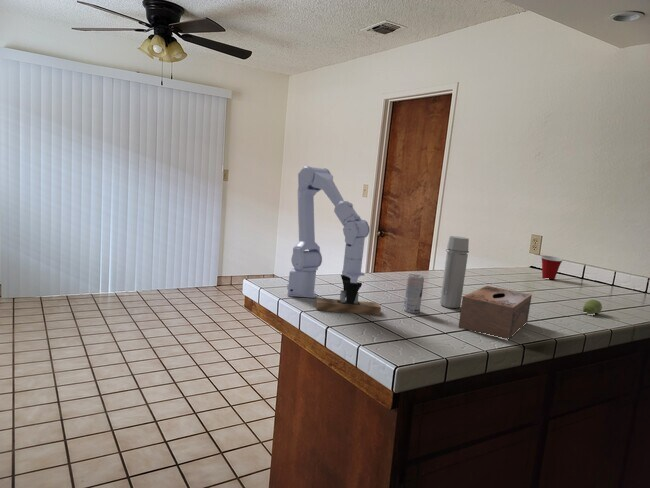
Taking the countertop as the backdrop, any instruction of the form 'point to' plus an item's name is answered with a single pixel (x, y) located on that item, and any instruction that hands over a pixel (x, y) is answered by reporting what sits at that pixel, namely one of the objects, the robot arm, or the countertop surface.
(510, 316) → the tissue box cover
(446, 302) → the water bottle
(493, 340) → the countertop surface
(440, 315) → the countertop surface
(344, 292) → the brushed metal block
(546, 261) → the plastic cup
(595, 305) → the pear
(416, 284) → the energy drink
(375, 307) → the rail
